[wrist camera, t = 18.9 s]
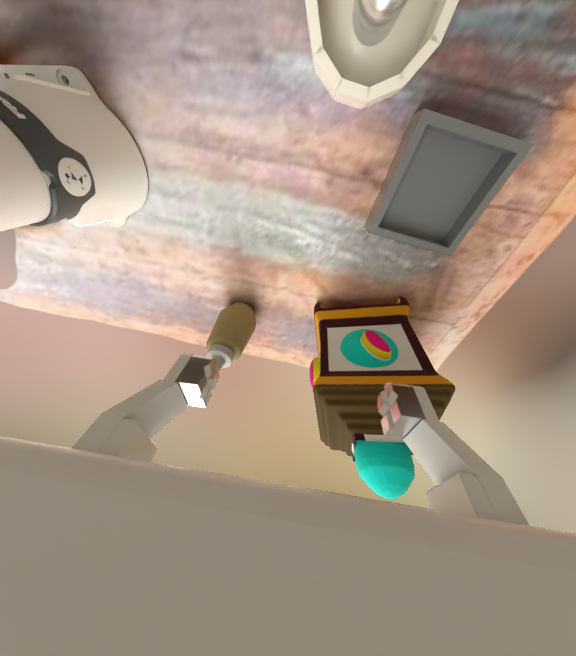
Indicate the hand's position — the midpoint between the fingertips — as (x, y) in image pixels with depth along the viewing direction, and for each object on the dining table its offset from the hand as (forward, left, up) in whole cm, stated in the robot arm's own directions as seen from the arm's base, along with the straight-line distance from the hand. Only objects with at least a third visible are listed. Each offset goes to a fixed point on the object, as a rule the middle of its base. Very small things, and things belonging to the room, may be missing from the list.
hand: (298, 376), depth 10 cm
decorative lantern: (+16, -19, -31) cm, 40 cm away
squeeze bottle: (-10, -22, -31) cm, 40 cm away
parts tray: (+14, +8, -31) cm, 35 cm away
